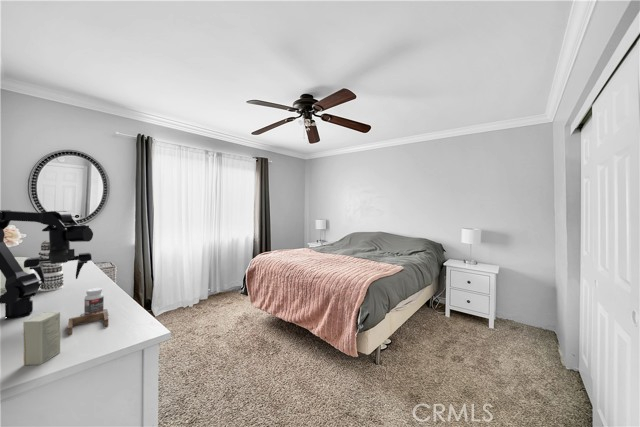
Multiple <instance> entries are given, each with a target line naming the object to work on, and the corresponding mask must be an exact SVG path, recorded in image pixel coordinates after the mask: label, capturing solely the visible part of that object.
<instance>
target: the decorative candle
mask: <svg viewBox="0 0 640 427" xmlns="http://www.w3.org/2000/svg"><path fill="white" fill-rule="evenodd" d="M49 252H50V250H49V240H43V241H42V242H41V243H40V251H39V252H38V255H39V257H41V259H48V258H49ZM41 265H42V267H43V272H44V277H45V283H44V284H43V283H42V281H41V279H39V280H40V281H39V283H40V287H39V291H40V292H51V291H57V290H60V289H63V288H64V280H63V279H64V272H63V266H64V263H56V264H51V263H44V264H41Z"/></svg>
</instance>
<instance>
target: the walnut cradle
mask: <svg viewBox="0 0 640 427" xmlns="http://www.w3.org/2000/svg"><path fill="white" fill-rule="evenodd" d="M107 311H108V310H107ZM107 311H105V312H100V313H95V314H90V315H85V316H81V315H80V316H76V317H71V318H68V325H67V335H68V336H71V335H73V326H77V325H82V324H86V323H87V324H88V323H91V322H95V321H100V320H103V324H104V327H105V328H106V327H109V316H108V315H107Z"/></svg>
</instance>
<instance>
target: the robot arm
mask: <svg viewBox="0 0 640 427" xmlns="http://www.w3.org/2000/svg"><path fill="white" fill-rule="evenodd" d="M11 221H12V222H29V223H30V222H31V223H40V224H42V225H46V227H44V228H43V229H42V230H41V231H42V232H48V241H49V250H50V252H49V258H48V259H41V257H40V256H38V257H29V258H26V259H25V260H24V261H23V268H25V269H26V268H28V269H29V270H34V271H35V273H34V272H31V273H27V272H25V271H24V270H23V268H22V267H21V265H20V264H19V262H18V260H17V259H16V258H15V256H14V255H13V253H12V251H11V250H10V249H9V247H8V245H7V244H6V243H5V241H4V239H5V234H6V233H5V231H4V230H5V229H6V228H8V227H9V225H10V222H11ZM93 236H94V232H93V230H92V229H91V227H90V225H89V224H81V225H80V224H79V223H78V222H77V221H76V220H75V219H74V218H73V215H72V214H71V213H70V212H69V211H67V210H51V211H50V210H49V211H40V212H36V211H34V212H33V211H20V210H10V209H2V210H0V272H1V273H2V275H3V276H4V278H5V284H4V289H5V292H4V293H2V295H1V296H0V304H1V305H2V304H4V306H5V307H4V315H5V316H4V318H5V317H7V318H11V319H14V318H21V317H22V318H23V317H26V316H30V315H31V313H32V312H33V311H34V301H33V300H32V297H34V296H36V294H37V292H38V290H40V286H41V285H40V283H41V281H42V283H43V284H44V283H45V277H44V272H43V267H42V265H41V264H44V263H51V264H56V263H62V264H64V263H65V264H66V263H68V262H71V261H73V262H74V261H77V262H76V264H77V265H76V271H75V280H77V279H78V278H79V275H80V272H81V270H82V268H83V266H84V265H85V264H88V262H89V261H90V262H91V261H93V260H92V253H90V252H84V253H83V252H82V253H78V255H75V248H71V245H70V244H71V243H81V242H83V243H85V242H91V241H92V239H93ZM70 242H71V243H70ZM36 274H37V275H38V277H39V278H40V279H39V278H38V277H37V275H36ZM40 280H41V281H40Z"/></svg>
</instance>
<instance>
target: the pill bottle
mask: <svg viewBox="0 0 640 427" xmlns="http://www.w3.org/2000/svg"><path fill="white" fill-rule="evenodd" d="M102 292H103V288H102V287H94V288H89V289H86V292H85V293H86V296H85V297H84V307H83V308H84V309H83V310H84V313H83V314H84V315H90V314H95V313H100V312H103V310H104V300H105V298H104V297H105V296H104V294H103V293H102Z"/></svg>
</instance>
